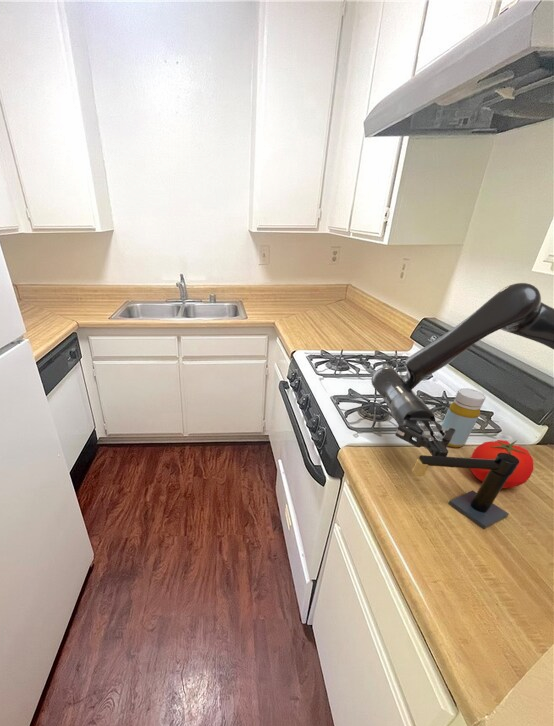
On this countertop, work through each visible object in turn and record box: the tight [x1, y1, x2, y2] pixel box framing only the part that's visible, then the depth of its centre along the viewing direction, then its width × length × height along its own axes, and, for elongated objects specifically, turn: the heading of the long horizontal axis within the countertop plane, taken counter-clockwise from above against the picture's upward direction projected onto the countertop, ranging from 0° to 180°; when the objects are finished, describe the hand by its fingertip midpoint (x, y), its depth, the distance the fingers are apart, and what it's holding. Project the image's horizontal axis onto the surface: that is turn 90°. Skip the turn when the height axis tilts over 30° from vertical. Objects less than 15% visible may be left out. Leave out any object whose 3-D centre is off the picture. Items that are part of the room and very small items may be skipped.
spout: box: [412, 453, 519, 477], centre depth 68 cm, size 18×4×5 cm, turn 86°
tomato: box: [470, 439, 534, 489], centre depth 80 cm, size 12×12×10 cm
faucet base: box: [448, 470, 510, 530], centre depth 72 cm, size 8×8×11 cm
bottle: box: [440, 387, 487, 449], centre depth 93 cm, size 7×7×15 cm
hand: (442, 456), depth 70 cm, fingers closed
